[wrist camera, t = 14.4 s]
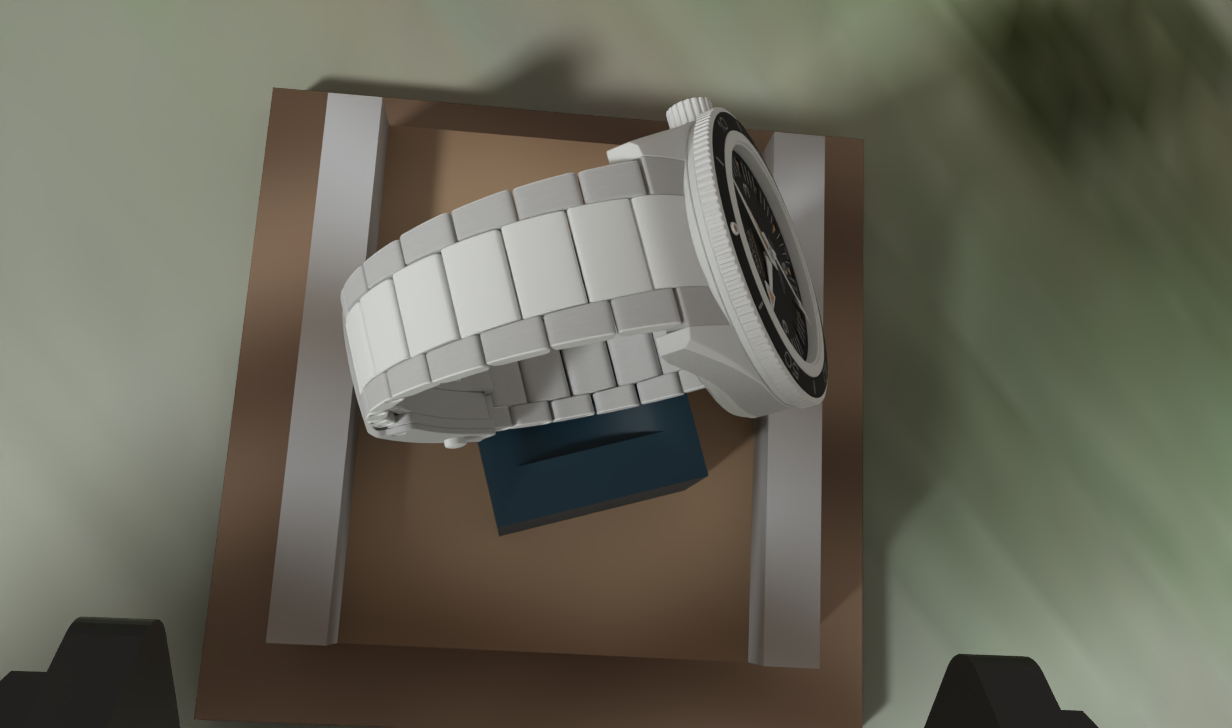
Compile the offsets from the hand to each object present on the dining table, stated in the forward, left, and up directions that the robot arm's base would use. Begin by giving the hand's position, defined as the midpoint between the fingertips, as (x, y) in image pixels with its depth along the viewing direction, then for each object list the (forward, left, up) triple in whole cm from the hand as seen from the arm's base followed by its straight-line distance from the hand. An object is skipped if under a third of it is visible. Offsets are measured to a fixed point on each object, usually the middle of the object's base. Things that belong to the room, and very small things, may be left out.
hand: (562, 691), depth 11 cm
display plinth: (+6, 0, -17) cm, 18 cm away
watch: (+6, 0, -13) cm, 15 cm away
